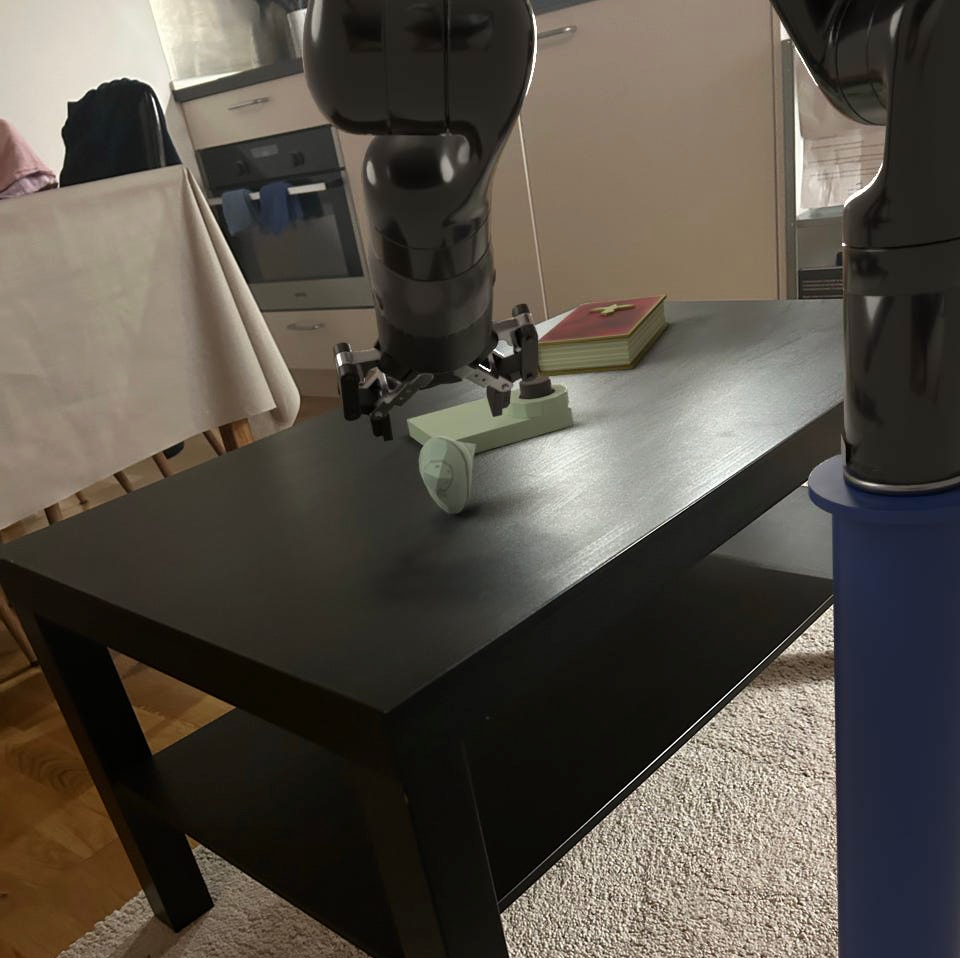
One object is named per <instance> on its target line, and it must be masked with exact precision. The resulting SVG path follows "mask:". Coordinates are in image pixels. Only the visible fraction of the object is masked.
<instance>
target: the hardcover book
mask: <svg viewBox="0 0 960 958" xmlns="http://www.w3.org/2000/svg"><path fill="white" fill-rule="evenodd" d="M667 297H668V296H667V294H658V295H649V296H648V295H647V296H639V297H631V298H622V299H612V300H601V301H594V302H586V303H581V304H579V305H578V306H577V307H576V308H575V309H573V310H572V311H571V312H570V313H569V314H567V315H566V316H565V317H564V318H563V319H561V321H559V322H558V323H557V324H555V326H554V327H552V328H551V329H550V330H549V331H548V332H545V334H544V335H542V336H541V337H540V338H538V376H557V375H558V376H559V375H571V374H582V373H584V374H585V373H593V372H594V373H595V372H606V371H618V370H631V369H634V368H635V367H636V365H637V364H638V363H639V362H640V360H641V359H642V358H643V357H644V355H646V353H647V352H648V351H649V349H651V347H652V346H653V345H654V344H655V342H656V341H657V340H658V339H659V338H660V336H661V335H662V334H663V333H664V331H665V330H666V329H667V328H668V327H669V326H670V321H666V316H665V303H664V302H665V300H666V299H667Z"/></svg>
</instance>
